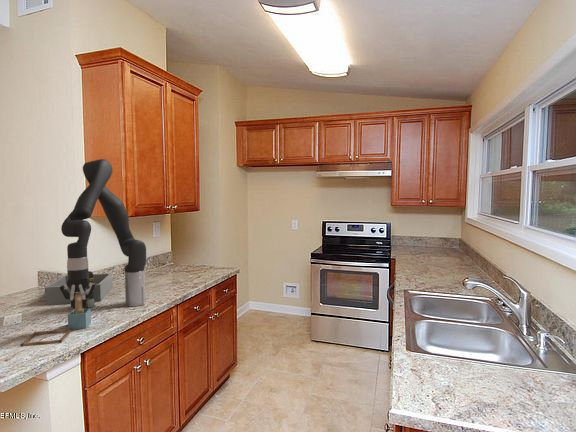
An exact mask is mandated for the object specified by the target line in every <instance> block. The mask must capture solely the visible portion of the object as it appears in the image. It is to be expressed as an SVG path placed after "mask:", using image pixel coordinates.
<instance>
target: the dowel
mask: <svg viewBox="0 0 576 432" xmlns="http://www.w3.org/2000/svg"><path fill="white" fill-rule="evenodd" d="M74 297H75V309H74V310H75V314H83V313H84V308H83V307H82V300H83V298H82V295H81V292H79V293H75V294H74Z"/></svg>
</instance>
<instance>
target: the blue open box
mask: <svg viewBox="0 0 576 432" xmlns="http://www.w3.org/2000/svg"><path fill="white" fill-rule="evenodd" d="M91 309H92V307H91V308H89V309H84V313H83V314H75V309H72V311H71V312H69V313H68V314H67V329H72V331H73V330H84V329H87V328H89V326H90V324H91V323H92V310H91Z"/></svg>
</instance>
